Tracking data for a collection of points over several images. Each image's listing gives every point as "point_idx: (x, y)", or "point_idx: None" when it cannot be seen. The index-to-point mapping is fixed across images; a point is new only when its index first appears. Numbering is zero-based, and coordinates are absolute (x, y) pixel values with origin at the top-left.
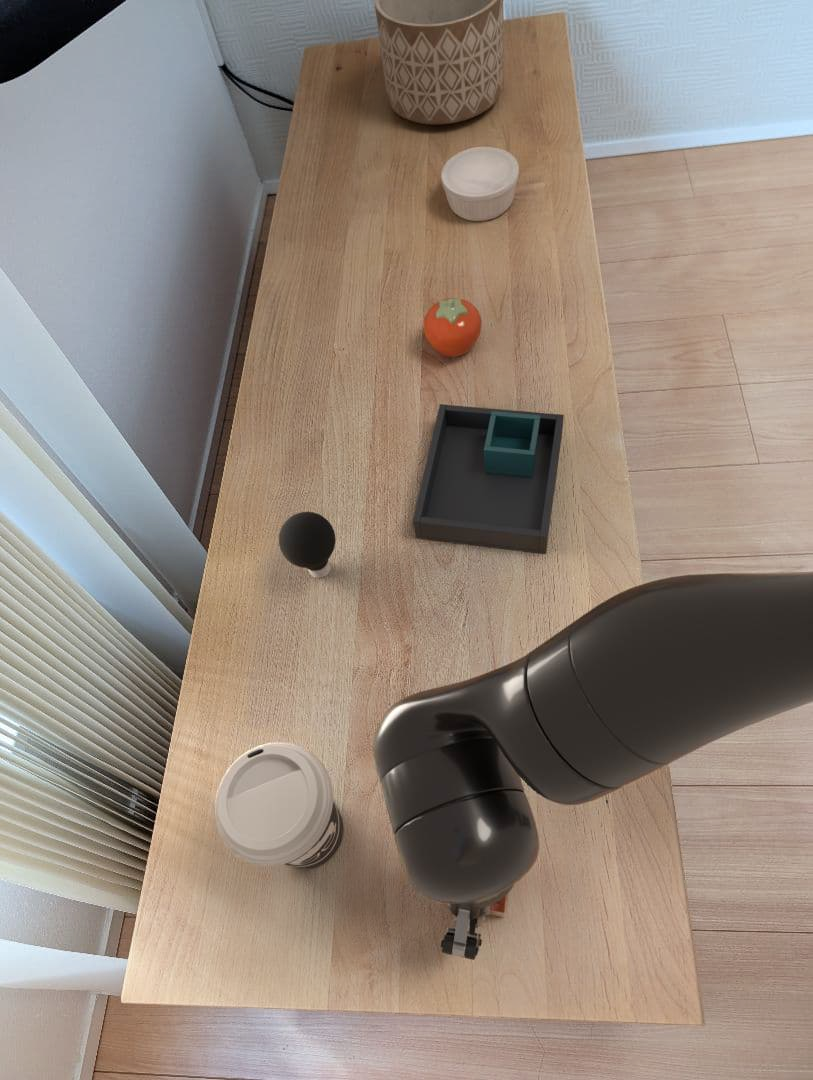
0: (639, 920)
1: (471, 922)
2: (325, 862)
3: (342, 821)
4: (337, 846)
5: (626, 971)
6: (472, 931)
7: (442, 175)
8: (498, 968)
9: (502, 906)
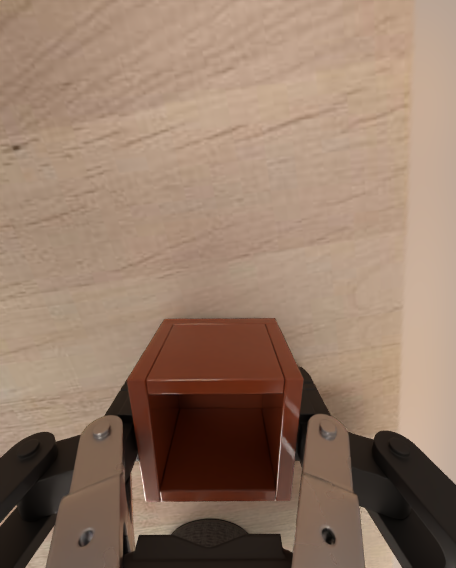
0: (236, 46)
1: (353, 476)
2: (242, 531)
3: (189, 524)
4: (221, 540)
5: (338, 72)
6: (382, 482)
7: None
8: (348, 314)
9: (289, 384)
